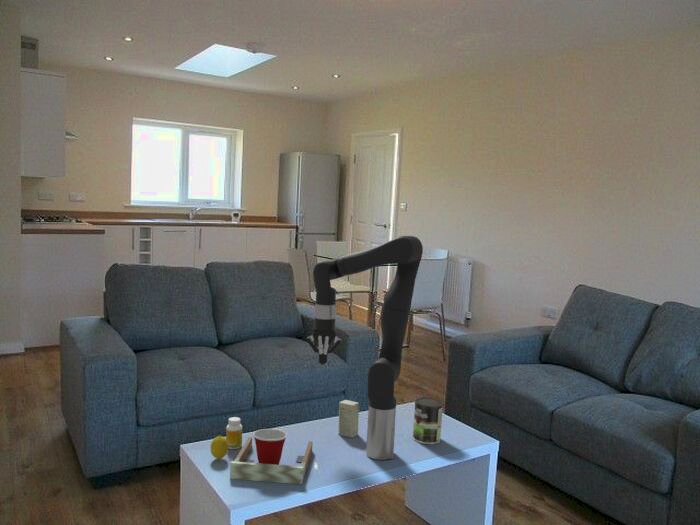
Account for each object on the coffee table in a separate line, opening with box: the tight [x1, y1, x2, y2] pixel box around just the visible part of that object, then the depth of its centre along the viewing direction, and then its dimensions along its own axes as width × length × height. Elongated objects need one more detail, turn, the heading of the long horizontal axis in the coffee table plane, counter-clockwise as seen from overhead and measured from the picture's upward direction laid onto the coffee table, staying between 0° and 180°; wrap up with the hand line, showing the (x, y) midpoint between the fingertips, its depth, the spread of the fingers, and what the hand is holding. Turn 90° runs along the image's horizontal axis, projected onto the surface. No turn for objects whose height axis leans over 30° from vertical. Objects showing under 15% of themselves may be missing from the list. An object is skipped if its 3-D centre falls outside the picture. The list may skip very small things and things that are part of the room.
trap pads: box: [243, 455, 304, 464], centre depth 196 cm, size 22×6×1 cm, turn 106°
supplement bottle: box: [225, 416, 243, 450], centre depth 206 cm, size 5×5×10 cm
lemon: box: [210, 435, 229, 461], centre depth 196 cm, size 6×6×8 cm
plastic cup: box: [252, 428, 288, 465], centre depth 190 cm, size 11×11×12 cm
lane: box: [229, 436, 314, 485], centre depth 194 cm, size 22×24×5 cm
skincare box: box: [338, 399, 360, 439], centre depth 222 cm, size 6×4×12 cm
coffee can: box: [412, 396, 444, 445], centre depth 221 cm, size 10×10×14 cm
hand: (322, 363), depth 216 cm, fingers closed
